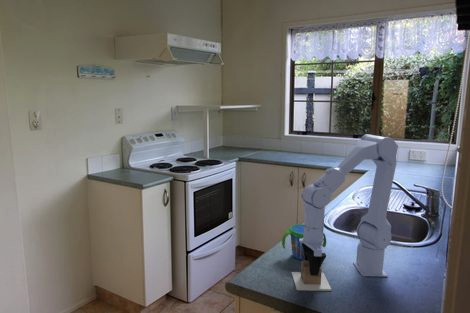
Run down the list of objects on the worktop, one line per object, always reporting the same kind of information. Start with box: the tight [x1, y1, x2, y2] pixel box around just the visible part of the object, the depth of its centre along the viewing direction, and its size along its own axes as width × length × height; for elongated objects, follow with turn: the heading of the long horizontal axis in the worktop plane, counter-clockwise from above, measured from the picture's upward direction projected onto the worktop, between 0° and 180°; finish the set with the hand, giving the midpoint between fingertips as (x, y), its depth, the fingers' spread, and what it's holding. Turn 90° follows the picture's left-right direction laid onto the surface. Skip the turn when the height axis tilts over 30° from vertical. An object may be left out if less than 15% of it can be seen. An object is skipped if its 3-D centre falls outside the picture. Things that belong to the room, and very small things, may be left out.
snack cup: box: [281, 223, 327, 261], centre depth 128 cm, size 16×10×10 cm
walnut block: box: [300, 260, 323, 284], centre depth 111 cm, size 5×5×5 cm
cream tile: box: [291, 271, 332, 292], centre depth 111 cm, size 10×10×1 cm
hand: (311, 268), depth 110 cm, fingers open, 7 cm apart
